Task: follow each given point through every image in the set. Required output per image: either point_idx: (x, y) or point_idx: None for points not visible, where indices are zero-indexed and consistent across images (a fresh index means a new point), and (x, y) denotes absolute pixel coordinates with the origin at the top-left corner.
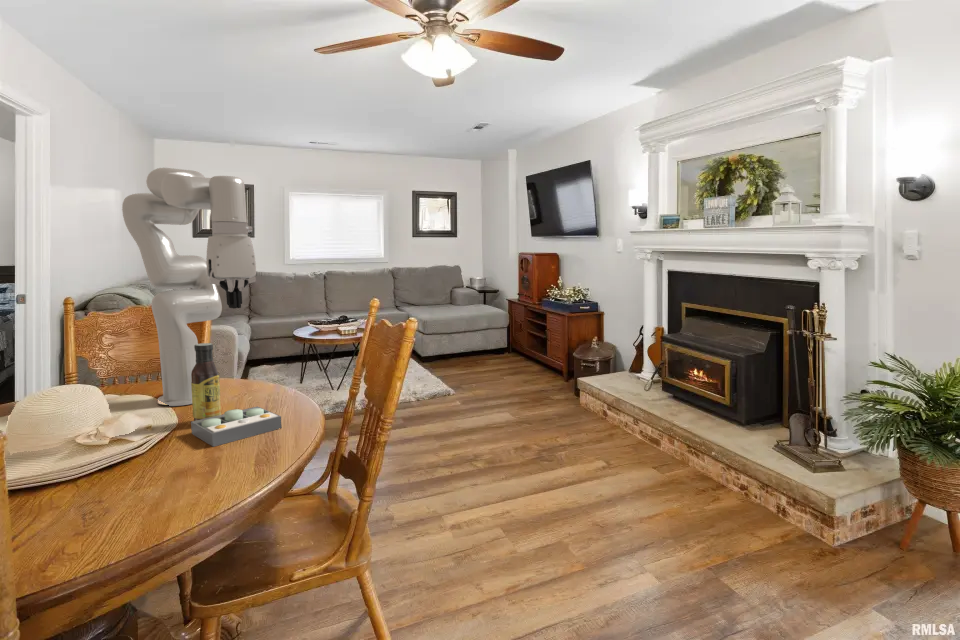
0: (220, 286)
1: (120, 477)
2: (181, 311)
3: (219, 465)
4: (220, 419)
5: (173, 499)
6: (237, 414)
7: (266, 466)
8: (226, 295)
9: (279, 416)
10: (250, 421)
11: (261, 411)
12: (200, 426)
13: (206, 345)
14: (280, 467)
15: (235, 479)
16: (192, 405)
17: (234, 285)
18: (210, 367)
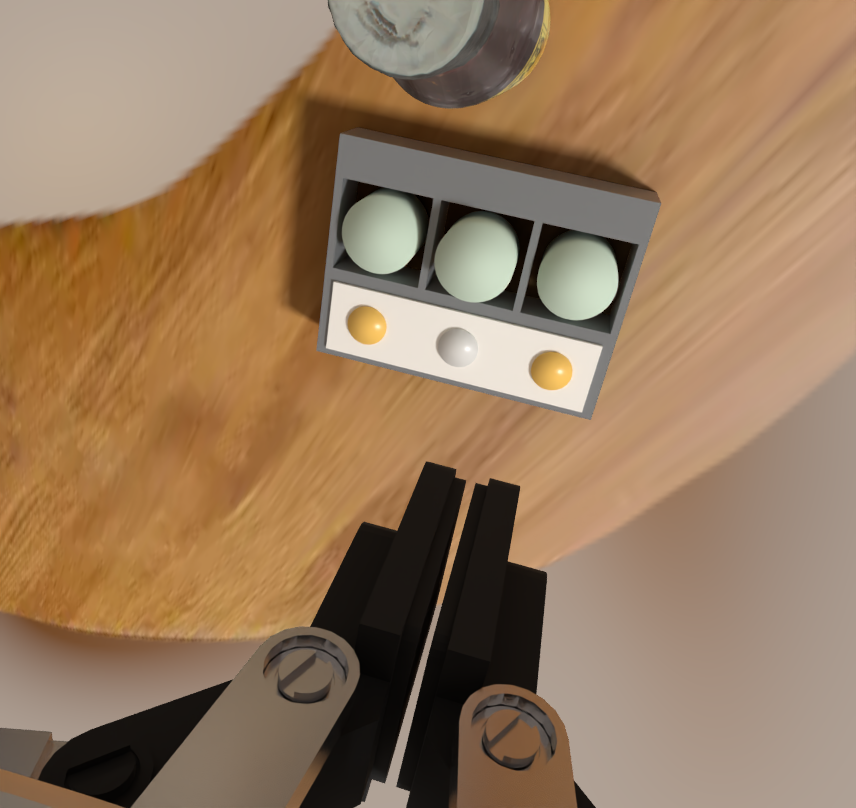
0: (146, 711)
1: (66, 305)
2: None
3: (271, 468)
4: (413, 252)
5: (123, 524)
6: (466, 301)
7: None
8: (322, 605)
9: (585, 417)
10: (472, 372)
11: (582, 318)
12: (331, 236)
13: (390, 72)
14: None
15: (254, 563)
16: None
17: (452, 794)
18: (440, 89)
